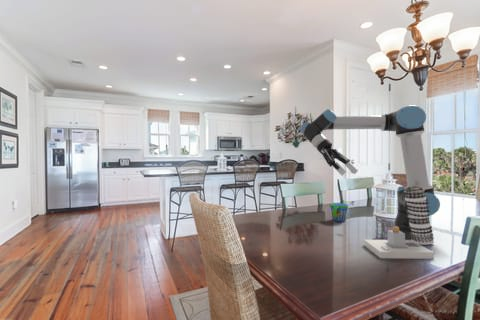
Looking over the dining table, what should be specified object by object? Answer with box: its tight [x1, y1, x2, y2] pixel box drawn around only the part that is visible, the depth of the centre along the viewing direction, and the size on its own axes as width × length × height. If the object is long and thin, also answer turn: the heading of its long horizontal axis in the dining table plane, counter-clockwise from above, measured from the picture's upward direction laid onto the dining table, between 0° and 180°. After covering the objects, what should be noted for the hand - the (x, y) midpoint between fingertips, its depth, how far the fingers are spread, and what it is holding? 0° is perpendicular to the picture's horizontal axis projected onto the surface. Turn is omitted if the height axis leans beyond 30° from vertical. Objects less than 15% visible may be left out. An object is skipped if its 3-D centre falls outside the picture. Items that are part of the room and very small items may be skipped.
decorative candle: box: [404, 186, 435, 246], centre depth 111 cm, size 9×9×25 cm
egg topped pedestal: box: [386, 225, 406, 248], centre depth 101 cm, size 4×4×10 cm
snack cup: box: [329, 202, 349, 223], centre depth 151 cm, size 16×10×10 cm
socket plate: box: [363, 239, 435, 260], centre depth 101 cm, size 20×14×3 cm
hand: (350, 173), depth 119 cm, fingers open, 13 cm apart
